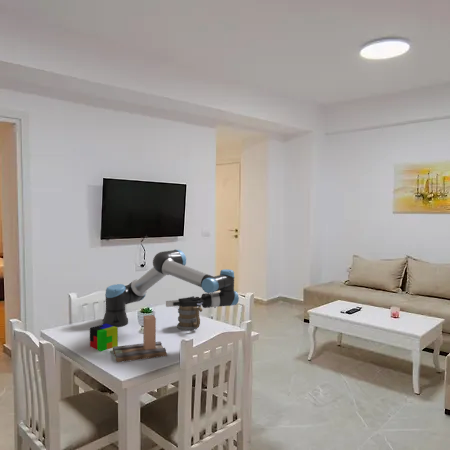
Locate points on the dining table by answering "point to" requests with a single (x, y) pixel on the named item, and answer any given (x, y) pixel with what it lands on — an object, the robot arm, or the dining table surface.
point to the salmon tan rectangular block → (149, 332)
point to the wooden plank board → (137, 352)
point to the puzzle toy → (103, 337)
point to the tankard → (188, 318)
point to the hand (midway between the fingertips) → (166, 303)
